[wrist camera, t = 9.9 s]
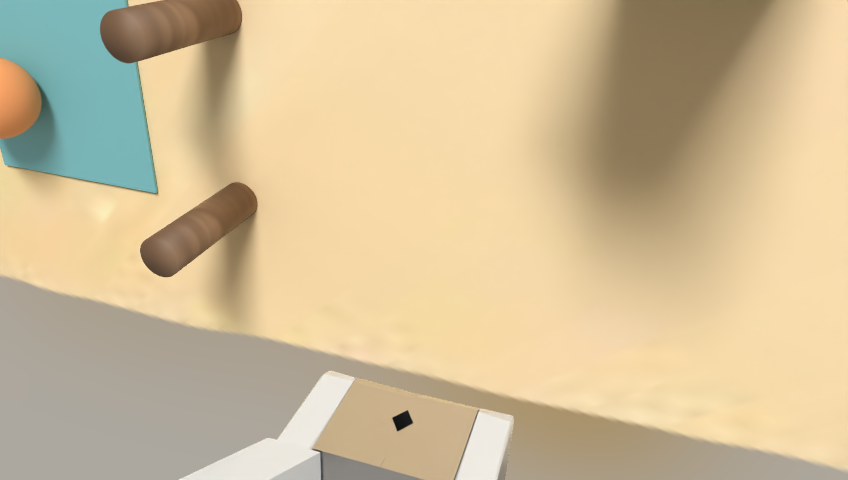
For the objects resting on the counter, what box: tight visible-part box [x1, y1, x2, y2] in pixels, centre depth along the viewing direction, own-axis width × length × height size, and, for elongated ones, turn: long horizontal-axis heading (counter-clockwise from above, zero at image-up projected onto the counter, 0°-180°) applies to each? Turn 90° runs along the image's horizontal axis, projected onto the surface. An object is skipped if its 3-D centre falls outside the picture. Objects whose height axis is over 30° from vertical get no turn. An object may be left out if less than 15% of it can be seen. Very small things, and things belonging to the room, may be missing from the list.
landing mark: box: [0, 0, 158, 193], centre depth 46 cm, size 14×14×1 cm
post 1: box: [100, 0, 242, 63], centre depth 36 cm, size 3×3×9 cm
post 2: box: [140, 183, 257, 277], centre depth 42 cm, size 3×3×9 cm
